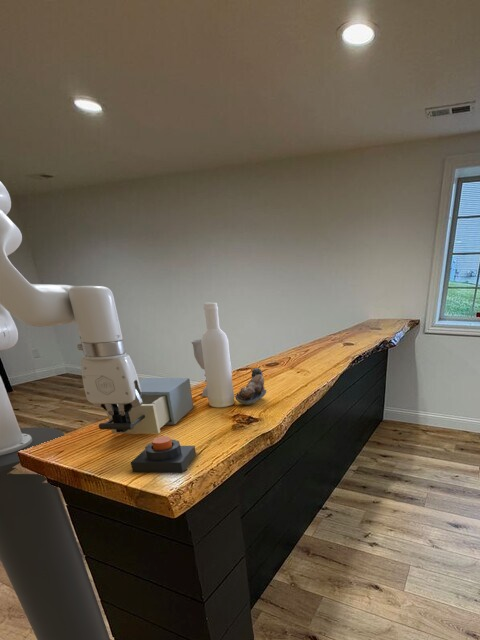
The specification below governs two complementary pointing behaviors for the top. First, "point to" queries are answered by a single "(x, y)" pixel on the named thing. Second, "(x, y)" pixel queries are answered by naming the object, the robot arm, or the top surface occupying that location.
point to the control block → (164, 458)
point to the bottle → (216, 360)
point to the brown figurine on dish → (252, 389)
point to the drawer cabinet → (171, 394)
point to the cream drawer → (143, 417)
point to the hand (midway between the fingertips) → (124, 429)
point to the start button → (162, 443)
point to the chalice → (199, 359)
